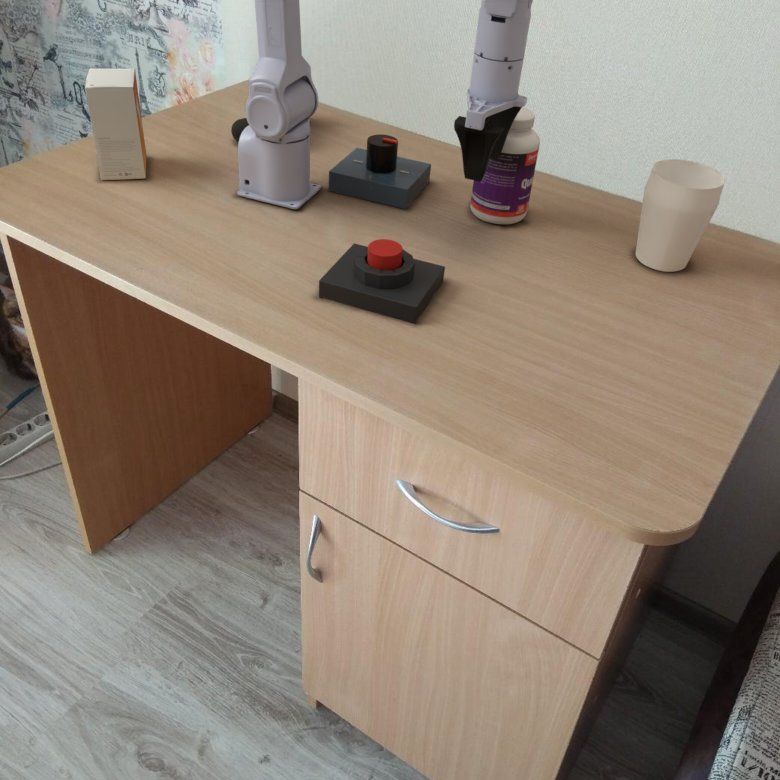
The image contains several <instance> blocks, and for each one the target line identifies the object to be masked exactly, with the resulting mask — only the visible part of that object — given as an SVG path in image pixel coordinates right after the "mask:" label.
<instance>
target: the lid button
mask: <svg viewBox="0 0 780 780" xmlns="http://www.w3.org/2000/svg"><path fill="white" fill-rule="evenodd" d="M367 247H368V255H367V263H368V265H369V266H371V267H372V268H375V269H379V270H394V269H397V268H400V266H401V264H402V252H403V250H404V248H403V245H401V243H399V242H398V241H395V240H393V239H387V238H380V239H374V240H373V241H371V242H369V244H368V245H367Z"/></svg>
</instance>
